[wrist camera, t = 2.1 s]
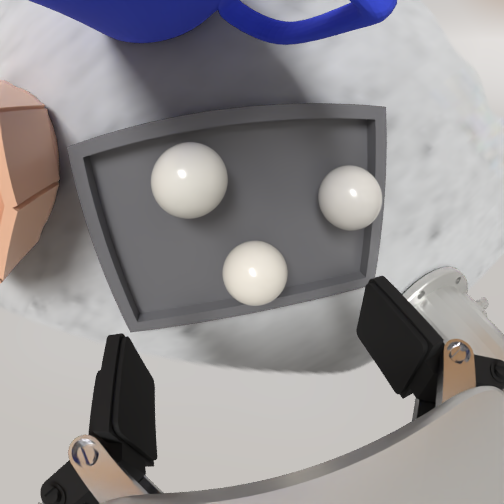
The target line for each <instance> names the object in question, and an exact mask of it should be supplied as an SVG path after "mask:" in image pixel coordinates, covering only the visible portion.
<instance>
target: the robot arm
mask: <svg viewBox="0 0 504 504" xmlns="http://www.w3.org/2000/svg"><path fill="white" fill-rule="evenodd" d="M467 291H468V286H467V280H466V277H465V276H464V275H463V274H462V273H461V272H460V271H459V270H457V269H456V268H453V267H442V268H440V269H437V270H434V271H432V272H430V273H429V274H427V275H425V276H424V277H422V278H421V279H419V280H418V281H417V282H415V283H414V284H413V285H412V286H411V287H410V288H409V289H408V290H407V291H406V292H405V293H404V294H403V295H402V294H401V293H400V292H399V291H398V290H397V289H396V288H395V287H394V286H393V285H392V284H391V283H390V282H389V281H388V280H387V279H386V278H385V277H384V276H380V277H376V278H373V279H370V280H369V282H368V284H366V287H365V292H364V297H363V302H362V307H361V312H360V317H359V321H358V326H357V335H358V337H359V339H360V340H361V342H362V343H363V345H364V346H365V348H366V349H367V351H368V352H369V354H370V355H371V356H372V358H373V359H374V361H375V362H376V364H377V365H378V367H379V368H380V370H381V371H382V373H383V374H384V375H385V377H386V379H387V381H388V382H389V383H390V385H391V387H392V388H393V390H394V391H395V392H396V393H397V394H400V395H401V397H402V398H405V397H407V396H408V395H410V394H412V393H413V394H414V395H415V397H416V399H415V406H414V413H413V419H412V422H410V423H408V424H407V425H405V426H403V427H401V428H400V429H398V430H396V431H395V432H392V433H390V434H388V435H387V436H384V437H382V438H380V439H378V440H376V441H374V442H372V443H370V444H368V445H366V446H363V447H362V448H359V449H357V450H354V451H352V452H350V453H347V454H345V455H343V456H340V457H338V458H335V459H332V460H329V461H327V462H324V463H321V464H319V465H315V466H312V467H309V468H306V469H303V470H300V471H297V472H293V473H290V474H286V475H282V476H279V477H275V478H271V479H267V480H262V481H258V482H253V483H248V484H243V485H237V486H232V487H225V488H218V489H210V490H202V491H192V492H180V493H163V492H162V491H161V490H160V489H159V488H158V487H157V486H156V485H155V484H154V483H153V482H152V481H151V480H150V479H148V477H146V475H145V474H146V471H145V466H154V460H156V459H157V446H156V429H155V387H154V380H153V378H152V376H151V375H150V373H149V371H148V369H147V368H146V366H145V364H144V363H143V361H142V359H141V358H140V356H139V354H138V352H137V351H136V349H135V347H134V345H133V343H132V342H131V340H130V338H129V337H125V336H124V334H115V335H109V336H108V337H107V341H106V346H105V352H104V356H103V361H102V367H101V370H100V371H98V373H97V375H96V380H95V386H94V393H93V400H92V407H91V415H90V426H89V435H81V436H78V437H77V438H75V439H74V440H73V441H72V442H71V444H70V446H69V450H68V455H69V459H70V460H69V461H68V462H67V463H66V464H65V465H63V466H62V467H61V468H60V469H59V470H58V471H57V472H56V473H54V474H53V475H52V476H51V477H50V478H49V479H48V480H46V481H45V482H44V484H43V485H42V487H41V498H42V501H43V502H42V503H38V504H504V334H503V333H502V332H501V331H500V330H499V329H498V328H497V327H496V326H495V325H494V324H493V323H492V322H491V321H490V320H489V319H488V318H487V313H486V312H485V310H484V309H486V308H487V307H488V300H487V299H486V298H485V297H483V298H481V299H479V300H477V301H474V300H473V299H472V298H471V297H470V296H469V295H468V294H467Z"/></svg>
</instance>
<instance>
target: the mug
mask: <svg viewBox="0 0 504 504" xmlns="http://www.w3.org/2000/svg"><path fill="white" fill-rule="evenodd" d="M29 1H32V2H34V3H37V4H40V5H42V6H45V7H47V8H50V9H52V10H55V11H57V12H59V13H62V14H64V15H66V16H68V17H71V18H73V19H75V20H77V21H79V22H81V23H83V24H85V25H87V26H89V27H91V28H93V29H95V30H97V31H99V32H101V33H103V34H105V35H107V36H109V37H112V38H114V39H117V40H120V41H125V42H132V43H151V42H158V41H164V40H167V39H171V38H174V37H177V36H180V35H182V34H184V33H186V32H188V31H190V30H192V29H194V28H195V27H197V26H198V25H200V24H201V23H202V22H204V21H205V20H206V19H207V18H209V17H210V16H211V15H212V14H213V13H214V12H215V11H217V10H218V11H219V14H220V16H221V17H222V18H223V19H224V20H225V21H227V22H228V23H230V24H231V25H233V26H234V27H236V28H237V29H239V30H241V31H243V32H244V33H246V34H248V35H250V36H252V37H255V38H257V39H260V40H262V41H266V42H269V43H274V44H282V45H289V44H299V43H305V42H310V41H315V40H319V39H323V38H327V37H330V36H334V35H338V34H341V33H345V32H348V31H352V30H356V29H359V28H363V27H367V26H371V25H374V24H377V23H380V22H382V21H383V20H385V19H386V18H387V17H388V16H389V15H390V14H391V13H392V11H393V9H394V8H395V6H396V4H397V0H350V1H351V3H349V4H347V5H344V6H342V7H340V8H337V9H334V10H332V11H329V12H327V13H324V14H322V15H319V16H316V17H313V18H310V19H306V20H302V21H296V22H285V21H279V20H275V19H272V18H269V17H267V16H264V15H262V14H260V13H258V12H256V11H254V10H252V9H251V8H249V7H248V6H246V5H245V4H243V3H242V2H241V1H240V0H29Z"/></svg>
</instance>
